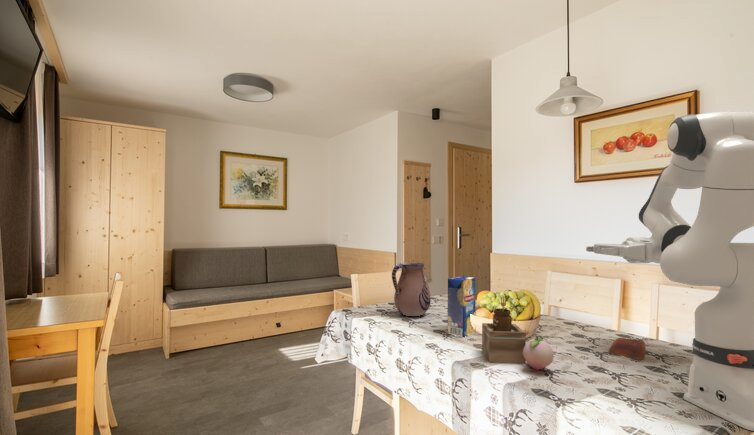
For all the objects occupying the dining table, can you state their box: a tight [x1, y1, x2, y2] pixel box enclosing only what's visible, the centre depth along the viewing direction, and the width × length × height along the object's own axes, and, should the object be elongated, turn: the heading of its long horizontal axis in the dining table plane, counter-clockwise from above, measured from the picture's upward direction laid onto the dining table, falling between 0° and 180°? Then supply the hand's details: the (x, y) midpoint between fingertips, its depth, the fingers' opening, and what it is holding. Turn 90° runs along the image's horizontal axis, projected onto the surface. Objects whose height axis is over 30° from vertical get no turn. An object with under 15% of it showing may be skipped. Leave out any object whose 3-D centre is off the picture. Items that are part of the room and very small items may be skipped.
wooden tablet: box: [608, 337, 647, 361], centre depth 133 cm, size 27×10×2 cm, turn 142°
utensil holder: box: [492, 296, 513, 331], centre depth 124 cm, size 6×6×12 cm
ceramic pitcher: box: [391, 261, 432, 317], centre depth 179 cm, size 18×21×25 cm
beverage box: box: [447, 275, 476, 338], centre depth 150 cm, size 7×11×22 cm, turn 141°
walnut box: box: [481, 322, 527, 364], centre depth 122 cm, size 11×11×10 cm
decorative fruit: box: [523, 335, 555, 371], centre depth 111 cm, size 9×8×10 cm
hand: (593, 249), depth 129 cm, fingers open, 8 cm apart
